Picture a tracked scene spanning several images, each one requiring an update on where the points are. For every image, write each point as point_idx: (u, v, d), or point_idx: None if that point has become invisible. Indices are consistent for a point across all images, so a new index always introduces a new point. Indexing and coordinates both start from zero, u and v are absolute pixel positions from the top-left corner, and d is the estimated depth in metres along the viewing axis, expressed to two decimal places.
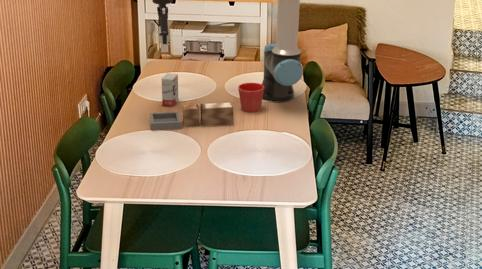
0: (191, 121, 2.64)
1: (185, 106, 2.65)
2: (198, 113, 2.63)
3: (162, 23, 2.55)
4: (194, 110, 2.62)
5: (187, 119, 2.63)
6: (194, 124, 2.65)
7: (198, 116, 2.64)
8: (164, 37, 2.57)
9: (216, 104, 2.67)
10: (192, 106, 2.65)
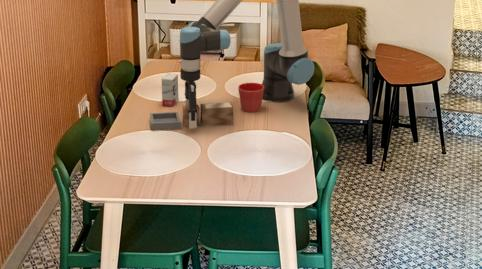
0: None
1: (185, 106, 2.65)
2: (198, 113, 2.63)
3: (191, 101, 2.54)
4: None
5: (187, 119, 2.63)
6: None
7: (198, 116, 2.64)
8: (192, 114, 2.57)
9: (216, 104, 2.67)
10: None
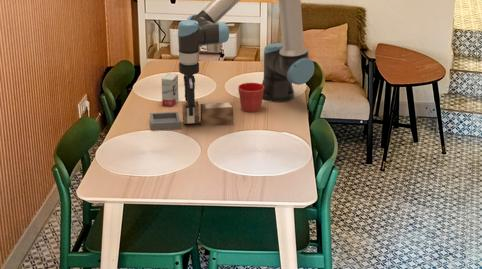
0: None
1: (185, 103, 2.64)
2: (198, 110, 2.63)
3: (189, 97, 2.56)
4: None
5: None
6: None
7: (198, 113, 2.63)
8: (190, 109, 2.60)
9: (216, 104, 2.67)
10: None
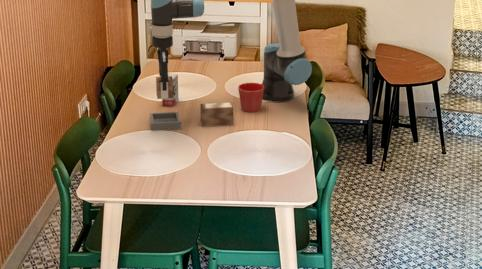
0: None
1: (158, 78, 2.59)
2: (171, 85, 2.58)
3: (162, 71, 2.52)
4: None
5: (160, 91, 2.58)
6: None
7: (171, 88, 2.58)
8: (164, 84, 2.55)
9: (216, 104, 2.67)
10: None
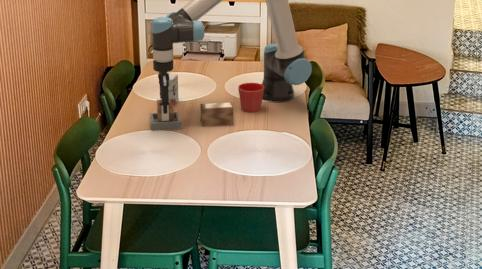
0: None
1: (159, 100, 2.63)
2: (172, 107, 2.62)
3: (163, 95, 2.55)
4: None
5: (161, 113, 2.62)
6: None
7: (172, 110, 2.62)
8: (165, 107, 2.59)
9: (216, 104, 2.67)
10: None
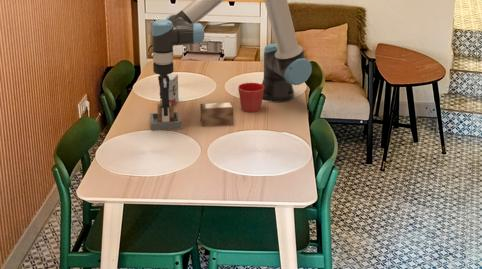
0: None
1: (160, 104, 2.63)
2: (172, 111, 2.62)
3: (163, 97, 2.55)
4: None
5: None
6: None
7: (172, 114, 2.63)
8: (165, 109, 2.58)
9: (216, 104, 2.67)
10: None
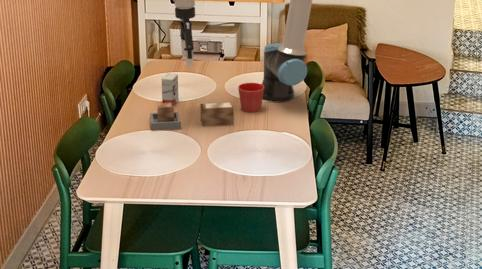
0: (165, 119, 2.63)
1: (160, 104, 2.63)
2: (172, 111, 2.62)
3: (187, 38, 2.54)
4: (168, 108, 2.61)
5: (162, 117, 2.62)
6: None
7: (172, 114, 2.63)
8: (189, 52, 2.57)
9: (216, 104, 2.67)
10: (167, 104, 2.64)
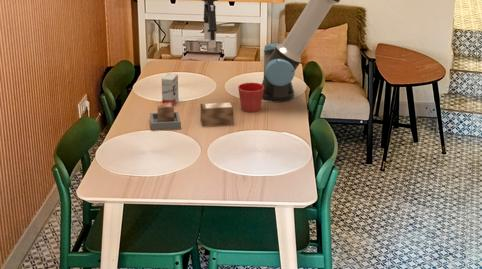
0: (165, 119, 2.63)
1: (160, 104, 2.63)
2: (172, 111, 2.62)
3: (210, 20, 2.63)
4: (168, 108, 2.61)
5: (162, 117, 2.62)
6: None
7: (172, 114, 2.63)
8: (212, 33, 2.66)
9: (216, 104, 2.67)
10: (167, 104, 2.64)
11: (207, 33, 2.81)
